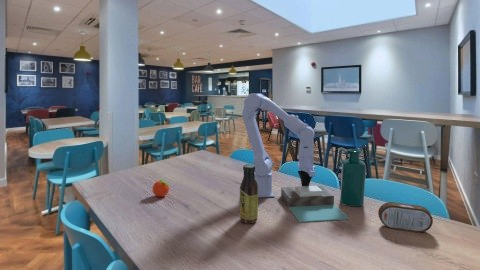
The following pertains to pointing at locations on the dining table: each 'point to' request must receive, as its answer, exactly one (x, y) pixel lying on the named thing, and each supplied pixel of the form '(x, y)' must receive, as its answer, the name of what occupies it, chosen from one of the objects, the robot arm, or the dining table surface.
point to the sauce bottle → (249, 195)
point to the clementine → (160, 188)
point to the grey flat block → (306, 198)
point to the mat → (318, 213)
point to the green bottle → (352, 179)
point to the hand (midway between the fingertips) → (305, 188)
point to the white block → (308, 191)
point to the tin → (405, 217)
